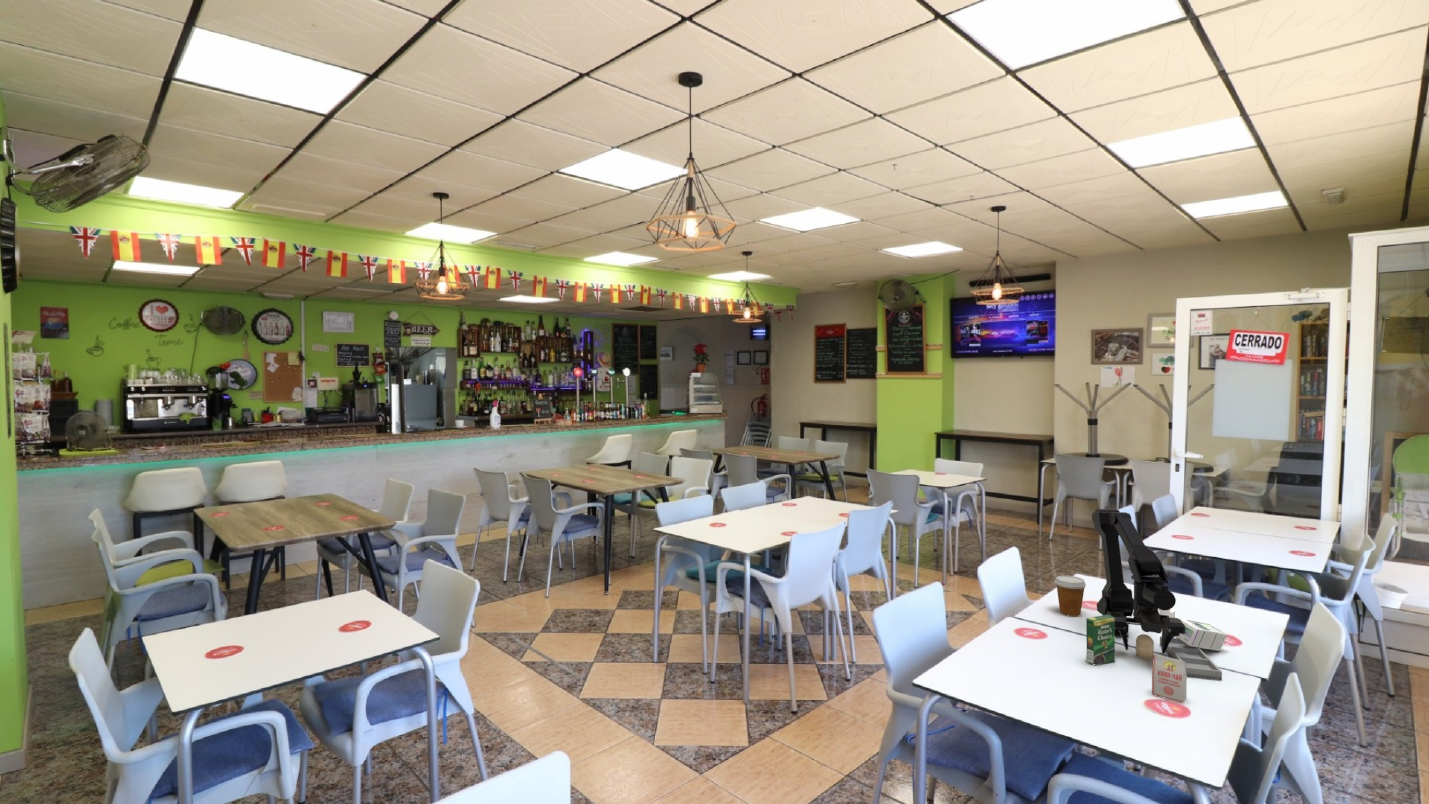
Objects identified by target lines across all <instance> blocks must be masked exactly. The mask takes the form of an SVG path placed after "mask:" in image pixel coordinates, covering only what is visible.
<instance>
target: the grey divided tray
mask: <svg viewBox="0 0 1429 804" xmlns="http://www.w3.org/2000/svg"><path fill="white" fill-rule="evenodd" d="M1161 641H1162V635H1160V636H1159V645H1160V646H1161ZM1165 654H1167V655H1168V657H1169V658H1173V659H1177V660H1181V661H1185V663H1186V674H1187V678H1194V679H1202V680H1203V679H1204V680H1205V679H1206V680H1211V679H1213V680H1212V681H1219V680H1221V681H1222V680H1223V678H1222V677H1223V671H1222V670H1221V669H1220V668H1219V667H1218V665H1216V664H1215V663H1214V661H1212V660H1211V659H1210V657H1209V656H1208V655H1207V654H1206V653H1205V652H1204V650H1202V648H1199V647H1193V646H1189V645H1187V644H1186V643H1184V642H1182V641H1181V640H1179V639H1178V638H1176V637H1174V638H1172V640H1171V641H1170V643H1169V645H1168V647H1167V649H1166V651H1165Z"/></svg>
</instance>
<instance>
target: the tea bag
mask: <svg viewBox="0 0 1429 804" xmlns="http://www.w3.org/2000/svg"><path fill="white" fill-rule="evenodd" d="M1187 679H1188V677H1187V674H1186V663H1185V661H1181V660H1177V659H1173V658H1170V657H1169V656H1168V657H1167V656H1163V655H1159V654H1155V653H1154V659H1153V660H1152V671H1151V695H1152V694H1153V695H1152V696H1155V695H1156V697H1159V696H1162V697H1165V698H1164V699H1166V698H1168V699H1167V700H1170V699H1172V700H1171V701H1173V700H1175V701H1174V702H1177V701H1178V703H1181V702H1184V703H1185V701H1186V700H1187V684H1188V683H1187V682H1188V681H1187ZM1162 697H1161V698H1162ZM1185 699H1186V700H1185Z"/></svg>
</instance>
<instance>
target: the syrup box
mask: <svg viewBox="0 0 1429 804" xmlns="http://www.w3.org/2000/svg"><path fill="white" fill-rule="evenodd" d="M1178 619H1179V620H1180V621H1181V622H1182V623H1183V624H1184V625H1185V634H1180V633H1179V634H1180V635H1179V636H1175V637H1174V638H1178V639H1179V640H1181V641H1182V642H1184V643H1186V644H1187V645H1189V646H1193V647H1199V648H1200V649H1205V650H1212V651H1218V652H1220V651H1221V650H1222V648H1223V645H1224V643H1225V641H1226V639H1227V637H1228V634H1227V633H1226V632H1224V631H1222V630H1220V629H1219V628H1217V627H1215V626H1214V625H1212V624H1210V623H1205V622H1199V621H1195V620H1194V621H1193V620H1190V619H1184V618H1183V619H1182V618H1178Z"/></svg>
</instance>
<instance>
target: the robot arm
mask: <svg viewBox="0 0 1429 804" xmlns="http://www.w3.org/2000/svg"><path fill="white" fill-rule="evenodd" d="M1091 521H1092V522H1093V526H1094V529H1095V531H1096V532H1097V533H1098V535H1099V536H1100V539H1101V545H1102V554H1103V564H1104V572H1105V581H1106V582H1105V584H1104V586H1103V589H1102V590H1101V598H1100V599H1099V601H1098V602H1097V603H1096V611H1097V612H1098V613H1099V614H1100V615H1101V616H1102V615H1110V616H1112V617H1114V618H1115V637H1120V638H1121V640H1122V643H1123V645H1124V649H1125V651H1128V650H1129V641H1128V637H1129V628H1130V627H1129V625H1134V626H1140V627H1141V630H1142V631H1143V632H1145V633H1156V634H1161V637H1162V641H1161V645H1160V649H1161V653H1162V654H1163V655H1165V654H1166V652H1165V651H1166V649H1167V647H1168V645H1169V643H1170V641H1171V640H1172V638H1176V637H1175V636H1179V635H1180V634H1185V625H1184V624H1183V623H1182V622H1181V621H1180V620H1179V619H1180V618H1178V617H1175V618H1171V617H1169V616H1168V615H1159V612H1158V609H1160V610H1170V609H1171V608H1173V609H1174V608H1175V605H1176V603H1177V599H1176V597H1175V594H1174V593H1173V592H1172V591H1170V590H1169V586H1168V585H1167V584H1169V580H1168V578H1169V577H1168V573H1167V572H1166V569H1165V568H1164V566H1163V562H1162V561H1161V559H1160V558H1159V557H1158V556H1157V554H1156V553H1155V551H1153V550H1152V549H1150V548H1148V547H1147V546H1146V544H1145V543H1144V541H1143V540H1142V538H1141V535H1140V533H1139V532H1138V531H1137V528H1136V527H1135V525H1134V523H1133V521H1132V516H1131V514H1130V513H1129V512H1125V511H1123V512H1121V511H1120V509H1117V508H1096V509H1095V510H1094V512H1092V514H1091ZM1119 537H1120V538H1119ZM1120 539H1121V541H1122V543H1123V545H1124V547H1125V549H1126V551H1127V553H1128V555H1129V556H1128V558H1127V563H1128V567H1129V570H1130V572H1131V574H1132V575H1131V576H1130V578H1131V579H1132V580H1133V591H1132V589H1131V588H1128V586H1127V585H1126V584H1125V580H1124V573H1123V572H1124V571H1123V565H1122V556H1121V547H1120ZM1179 633H1180V634H1179Z"/></svg>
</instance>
